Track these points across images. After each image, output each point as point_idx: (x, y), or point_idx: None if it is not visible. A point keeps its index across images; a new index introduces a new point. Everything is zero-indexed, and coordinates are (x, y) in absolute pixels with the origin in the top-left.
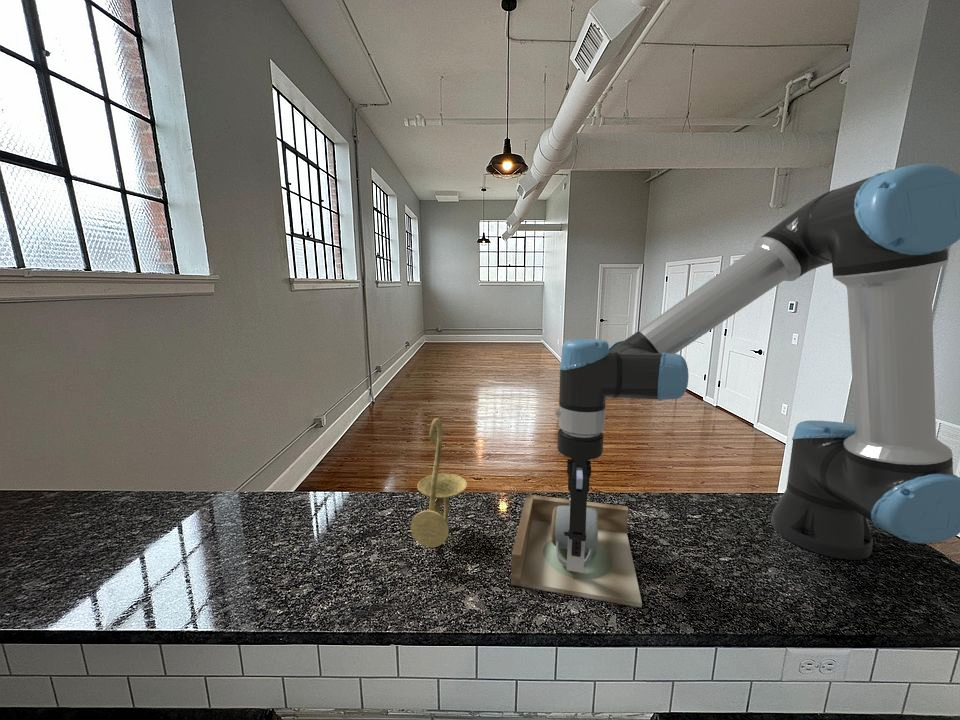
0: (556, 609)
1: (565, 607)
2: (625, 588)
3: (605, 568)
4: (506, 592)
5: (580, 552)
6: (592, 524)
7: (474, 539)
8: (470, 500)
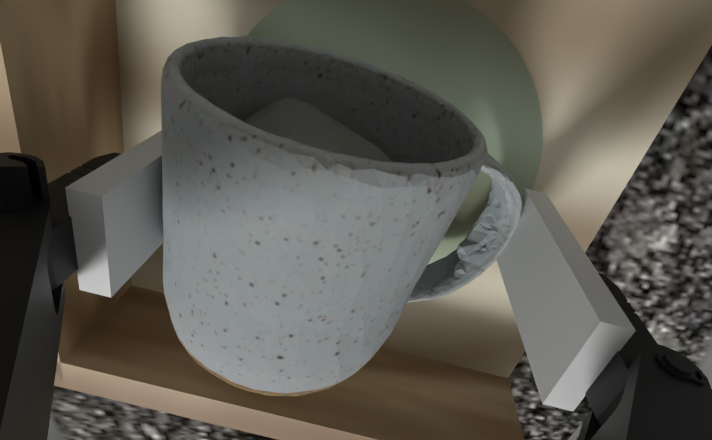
0: (635, 290)
1: (636, 262)
2: None
3: (481, 47)
4: (523, 397)
5: (623, 298)
6: (435, 208)
7: None
8: (61, 426)
